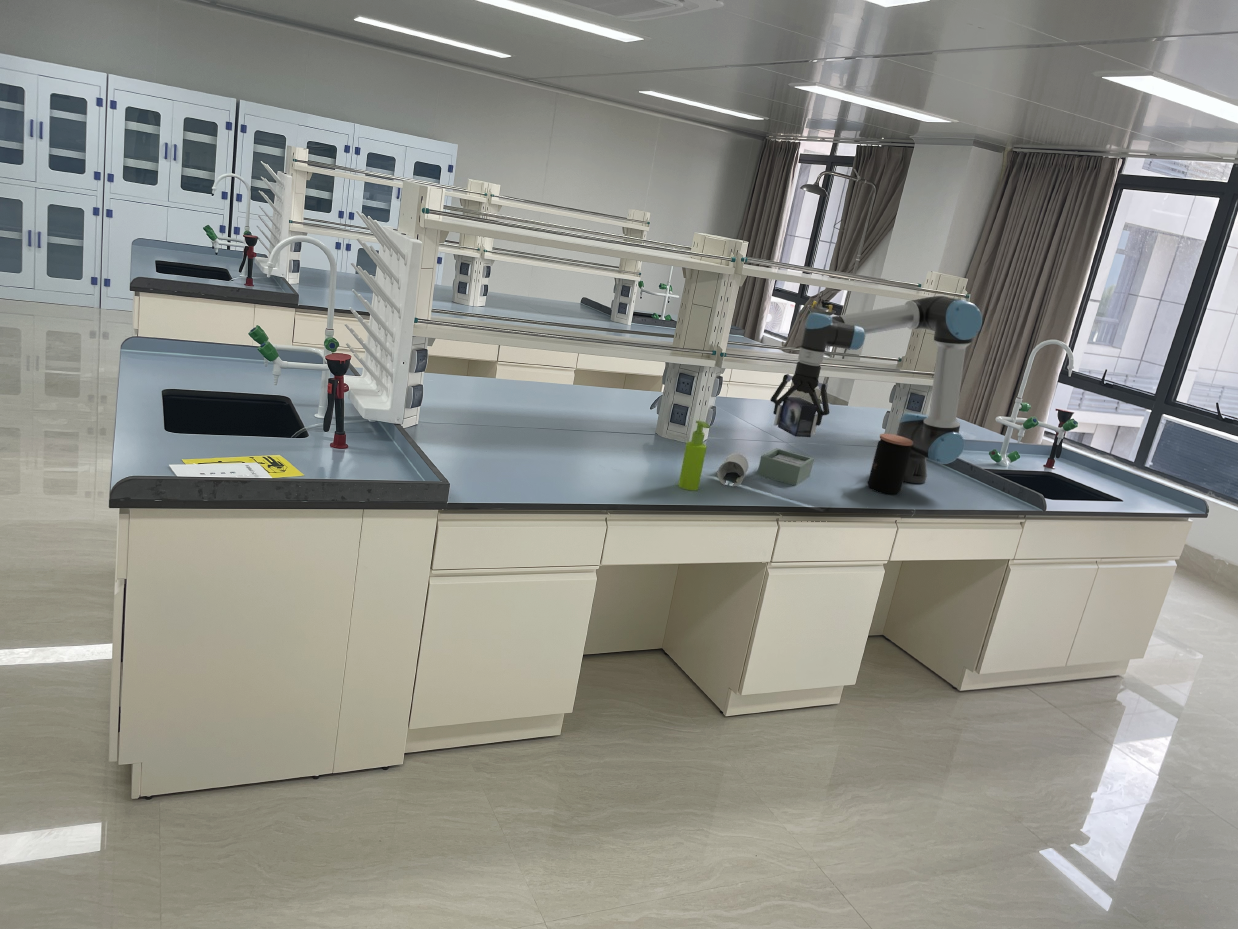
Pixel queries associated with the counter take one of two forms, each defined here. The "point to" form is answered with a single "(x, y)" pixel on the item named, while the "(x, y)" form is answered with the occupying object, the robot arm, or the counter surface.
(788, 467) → the box
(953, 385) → the robot arm
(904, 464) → the coffee jar
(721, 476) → the white bottle
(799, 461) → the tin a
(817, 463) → the counter surface
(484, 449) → the counter surface
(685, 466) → the soap dispenser
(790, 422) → the small box
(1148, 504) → the counter surface
